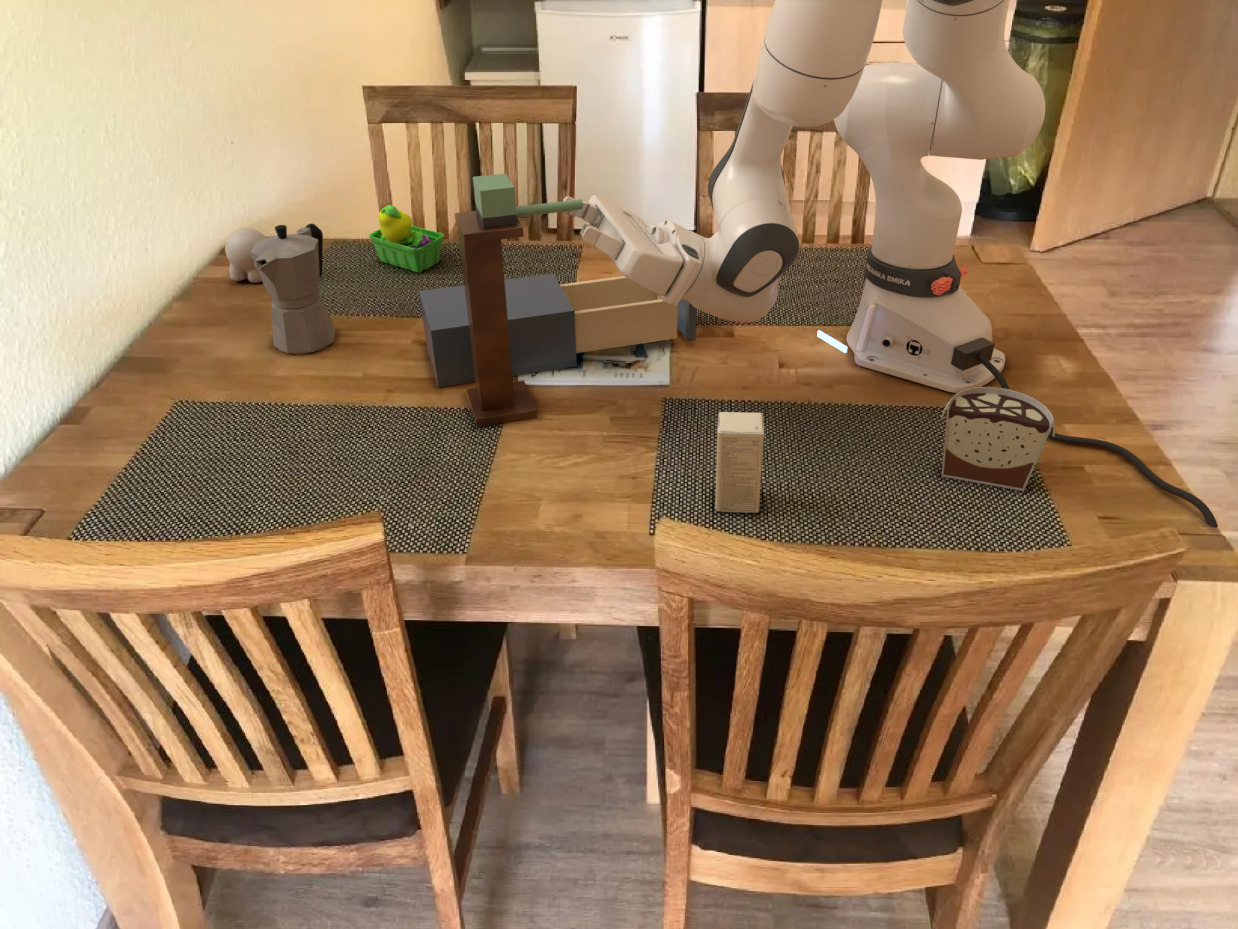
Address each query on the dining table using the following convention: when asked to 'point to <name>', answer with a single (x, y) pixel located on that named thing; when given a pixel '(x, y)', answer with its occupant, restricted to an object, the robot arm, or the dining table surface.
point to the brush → (509, 202)
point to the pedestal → (490, 324)
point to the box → (739, 462)
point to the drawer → (624, 314)
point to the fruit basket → (405, 241)
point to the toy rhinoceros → (243, 254)
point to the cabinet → (533, 323)
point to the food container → (994, 436)
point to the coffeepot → (295, 288)
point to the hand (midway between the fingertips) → (573, 216)
